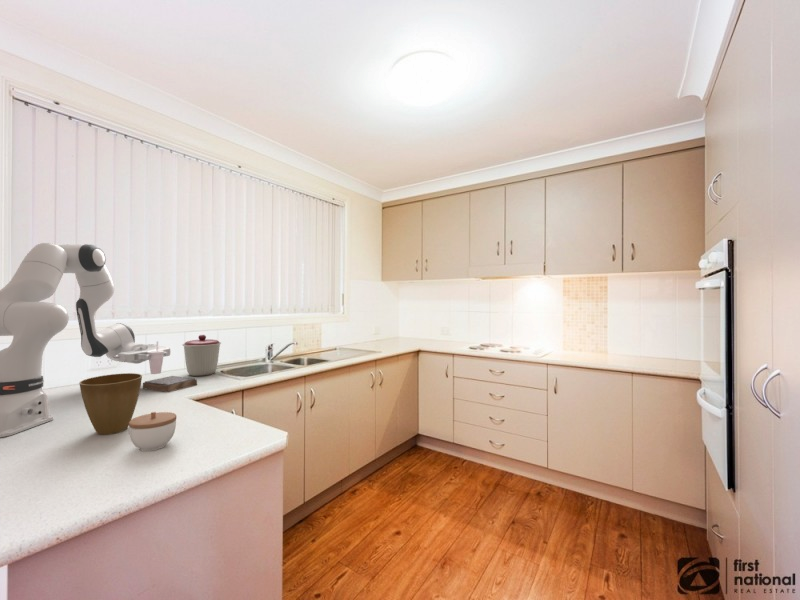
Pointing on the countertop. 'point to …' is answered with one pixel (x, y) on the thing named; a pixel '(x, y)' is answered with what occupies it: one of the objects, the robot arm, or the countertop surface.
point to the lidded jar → (152, 430)
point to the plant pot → (111, 400)
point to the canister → (201, 356)
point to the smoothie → (156, 360)
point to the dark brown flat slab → (170, 383)
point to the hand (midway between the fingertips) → (157, 355)
